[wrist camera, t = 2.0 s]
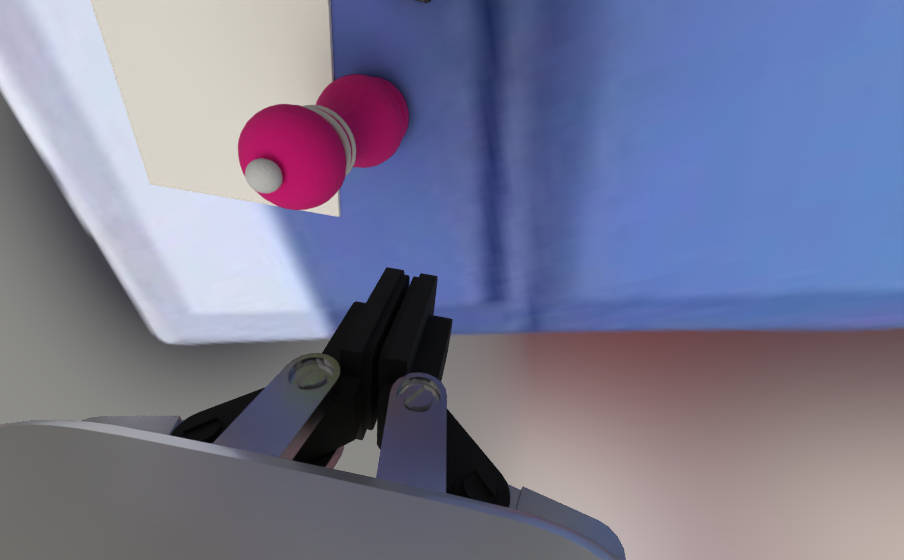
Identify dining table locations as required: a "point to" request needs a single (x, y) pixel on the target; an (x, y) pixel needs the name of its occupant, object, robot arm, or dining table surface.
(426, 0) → the chalk box
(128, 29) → the rubber mat
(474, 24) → the dining table surface
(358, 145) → the pepper mill
